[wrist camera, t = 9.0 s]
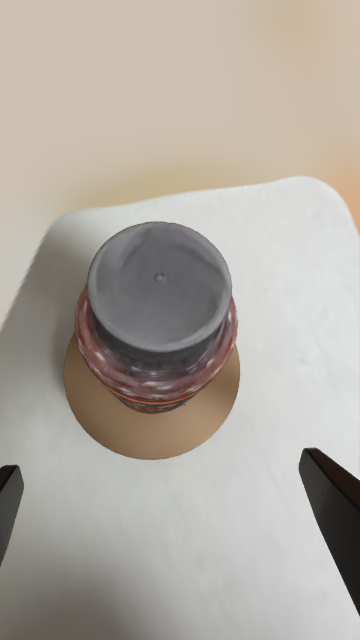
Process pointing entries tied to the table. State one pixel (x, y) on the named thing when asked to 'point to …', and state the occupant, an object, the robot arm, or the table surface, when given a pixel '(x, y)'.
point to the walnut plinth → (141, 428)
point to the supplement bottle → (156, 316)
